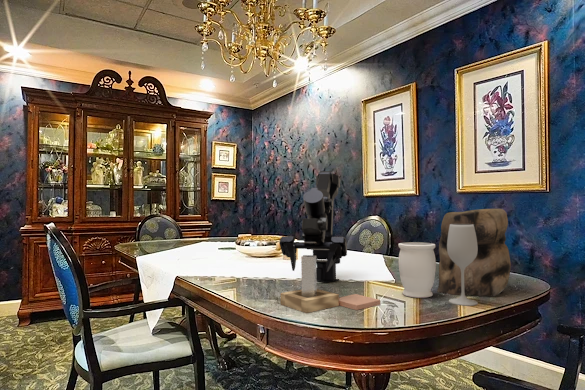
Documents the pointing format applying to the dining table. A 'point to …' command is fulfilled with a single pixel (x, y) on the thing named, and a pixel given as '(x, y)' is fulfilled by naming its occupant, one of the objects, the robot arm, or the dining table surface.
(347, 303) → the coaster
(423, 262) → the jar
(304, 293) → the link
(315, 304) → the brown square tray
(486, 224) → the brown mottled lumpy block
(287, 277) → the dining table surface
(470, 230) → the wineglass
